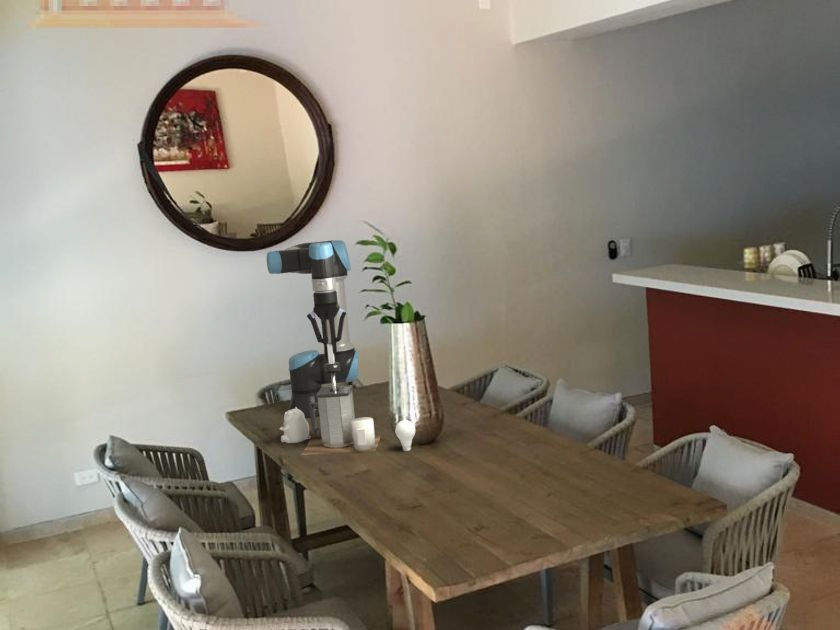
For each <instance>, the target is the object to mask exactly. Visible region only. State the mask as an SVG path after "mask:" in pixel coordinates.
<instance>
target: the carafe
mask: <svg viewBox="0 0 840 630" xmlns="http://www.w3.org/2000/svg"><path fill="white" fill-rule="evenodd" d="M353 387H354V386H353V385H351V384H349V385H336V390H337V391H333V388H332V386H322V387H321V389H320V390H319V392H318V393H317V395H316V398H318V403H310V404H309V406H310V415H311V417H310V423H311V432H312V434H313V435H315V434H317V435H318V434H321V439H322V443H323V446H324V447H326V448H344V447H349V446H352V445H354V444H353V433H352V423H351V421H352V420H353V419H356V417H355V415H356V414H355V408H354V407H355V404H354V396H353V395H354V394H353V389H354V388H353ZM316 407H319V415H318V416H319V424H320V426H319V427H320V428H317V420H316V419H317V418H316V416H315V409H314V408H316Z"/></svg>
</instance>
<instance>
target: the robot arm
mask: <svg viewBox="0 0 840 630" xmlns="http://www.w3.org/2000/svg"><path fill="white" fill-rule="evenodd" d="M349 257H350V256H349V253H348V249H347V246H346V243H345V241H344V240H333V239H332V240H323V241H313V242H303V243H299V244H295V245H291V246H290V247H287V248H285V249H282V250H272V251H268V252H267V253H266V268H267V270H268V273H269V274H271V275H273V274H274V275H279V274H290V273H291V274H292V273H293V274H300V275H311V283H312V284H311V285H312V291H313V295H312V296H313V303H314V306H313V309H312V311H311V312H310V313H308V314H306V318H308V320H309V321H310V323H311V326H312V329H313V332H314V335H315V338H316V340H317V342H318V343H321V344H323V353H320V352H319V350H317V349H314V350H313V349H311V350H306V351H302V352H301V351H300V352H298V353H296V354H293V355H292V356H290V357H289V358H288V371H289V377H290V379H289V380H290V387H291V388H290V389H291V397H290V402H289V405H288V406H289V408H288V410H292V409H296V408H295V407H297V409H299V410H301V411H302V412H303V413H304V416H305V418H311V415H310V406H309V404H310V403H318V398H316V395H317V393H318V392H319V390H320V389H321V387H323V385H329V384H331V385H332V378H331V373H326V372H325V367H324V364H326V363H329V364H334V363H335V362H339V363H340V371H339V372H335V380H336V384H338V383H339V384H341V383H345V384H346V383H351V382H355V381H357V379H358V376H359V373H358V372H359V354H360V353H359V350H357V349H355V345H354V344H352V343H351V340H350V339H351V338H350V331H349V330H350V329H349V317H348V309H347V299H346V297H347V296H346V288H345V287H346V286H345V279H346V278H347V277H348V275H349V274H348V272H349V271H351V270H352V269H351V268H352V267H351V263H350V258H349ZM316 317H318V318H319V320H320V323H321V324H320V325H321V331H320V328H319V326H318V322H317V319H316ZM314 409H315V417H317V416H319V407H316V408H314Z"/></svg>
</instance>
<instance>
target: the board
mask: <svg viewBox="0 0 840 630" xmlns="http://www.w3.org/2000/svg"><path fill="white" fill-rule="evenodd" d="M381 437H382V435H381V434H380V435H375V444H376V447H375V448H373V449H371V450H366V451H365V452H374V451H377V448H378V445H379V442H380V439H381ZM358 452H359V453H360V452H362V451H358V450H355V449H354V445H352V446H349V447H344V448H326V447H324V446H323V443H322V438H319V439H317V438H315V439H309V441H308V443H307V444H306V446H305V448H304V449H303V451H302V453H301V454H300V456H307V455H308V456H309V455H327V454H341V453H343V454H344V453H345V454H346V453H358Z"/></svg>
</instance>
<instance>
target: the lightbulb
mask: <svg viewBox="0 0 840 630" xmlns="http://www.w3.org/2000/svg"><path fill="white" fill-rule="evenodd" d="M394 431H395V435H396V437H397V438H398V439H399V441H400V444H401V446H402V451H403V452H409V451H411V450H412V443H413V438H414V437H415V434H416V426H415V424H414V423H413V422H412V421H410V420H409V419H408V420H407V419H403V420H400V421H399V422H398V423H397V424H396V425H395V429H394Z"/></svg>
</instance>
